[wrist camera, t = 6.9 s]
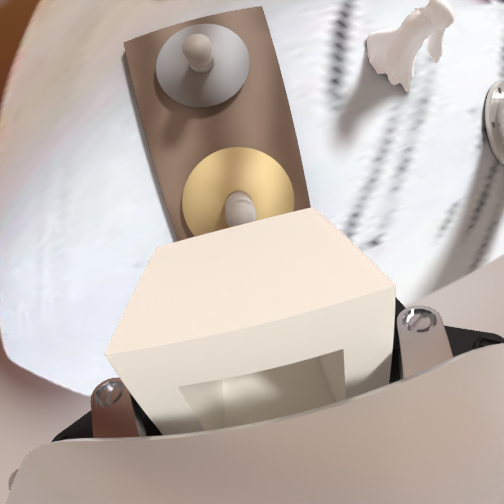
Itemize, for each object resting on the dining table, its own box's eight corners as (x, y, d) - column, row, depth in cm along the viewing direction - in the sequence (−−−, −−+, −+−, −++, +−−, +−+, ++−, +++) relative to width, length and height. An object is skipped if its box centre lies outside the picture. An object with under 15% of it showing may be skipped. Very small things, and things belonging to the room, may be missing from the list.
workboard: (260, 10, 21) (272, -25, 14) (314, 247, 31) (339, 282, 24) (127, 45, 22) (97, 22, 14) (194, 278, 31) (186, 320, 24)
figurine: (397, 20, 22) (466, -10, 11) (429, 82, 25) (507, 77, 14) (344, 36, 23) (407, -4, 12) (381, 103, 26) (458, 98, 15)
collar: (313, 206, 11) (396, 285, 5) (331, 332, 13) (380, 436, 8) (156, 247, 11) (104, 354, 5) (204, 363, 13) (201, 477, 8)
